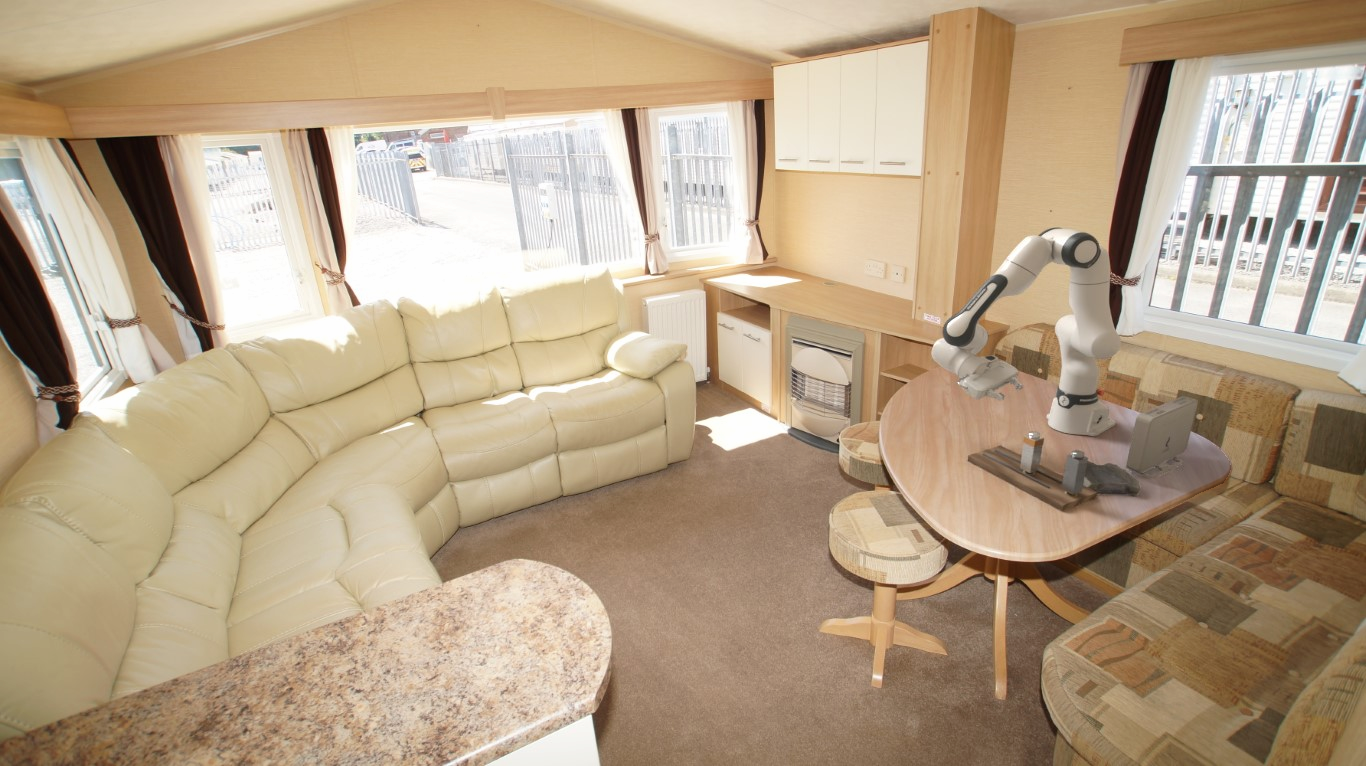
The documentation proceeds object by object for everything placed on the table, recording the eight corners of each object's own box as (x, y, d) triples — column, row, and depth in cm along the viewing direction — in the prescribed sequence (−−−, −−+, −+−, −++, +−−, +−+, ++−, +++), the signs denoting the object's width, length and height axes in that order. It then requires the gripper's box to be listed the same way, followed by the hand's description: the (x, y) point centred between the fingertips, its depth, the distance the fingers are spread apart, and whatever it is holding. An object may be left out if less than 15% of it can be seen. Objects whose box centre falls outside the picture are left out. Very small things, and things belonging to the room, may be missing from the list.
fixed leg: (1069, 489, 184) (1076, 448, 179) (1081, 494, 180) (1088, 453, 176) (1060, 492, 182) (1067, 451, 178) (1072, 498, 179) (1079, 456, 174)
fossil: (1142, 498, 181) (1144, 487, 180) (1080, 494, 185) (1082, 483, 184) (1122, 472, 195) (1124, 461, 193) (1065, 468, 199) (1067, 458, 198)
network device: (1145, 483, 188) (1159, 422, 180) (1114, 471, 195) (1126, 412, 188) (1192, 459, 198) (1207, 401, 191) (1162, 448, 205) (1175, 392, 198)
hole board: (999, 450, 211) (1000, 443, 210) (1096, 498, 182) (1098, 490, 181) (967, 460, 207) (968, 453, 206) (1061, 511, 177) (1063, 503, 176)
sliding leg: (1028, 467, 196) (1033, 429, 191) (1038, 472, 192) (1044, 434, 188) (1019, 470, 194) (1024, 432, 190) (1029, 475, 191) (1035, 437, 186)
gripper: (956, 374, 201) (994, 397, 192) (997, 353, 210) (1035, 374, 201) (951, 389, 205) (988, 412, 196) (991, 368, 214) (1028, 390, 205)
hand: (1012, 393), depth 199 cm, fingers open, 8 cm apart
